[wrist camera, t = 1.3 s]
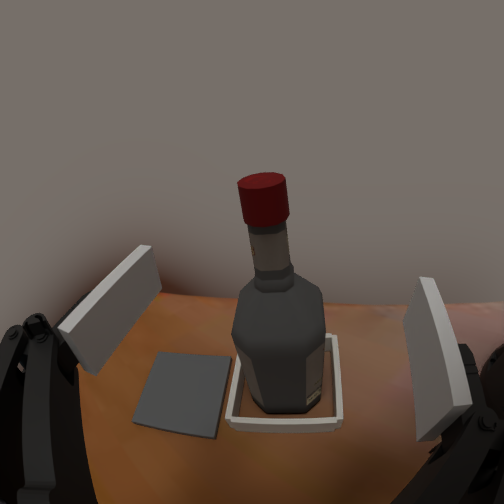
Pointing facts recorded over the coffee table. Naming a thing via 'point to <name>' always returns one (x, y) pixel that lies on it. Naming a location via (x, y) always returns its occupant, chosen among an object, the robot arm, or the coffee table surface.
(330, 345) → the bottle holder
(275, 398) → the liquor
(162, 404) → the slate coaster
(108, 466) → the coffee table surface
